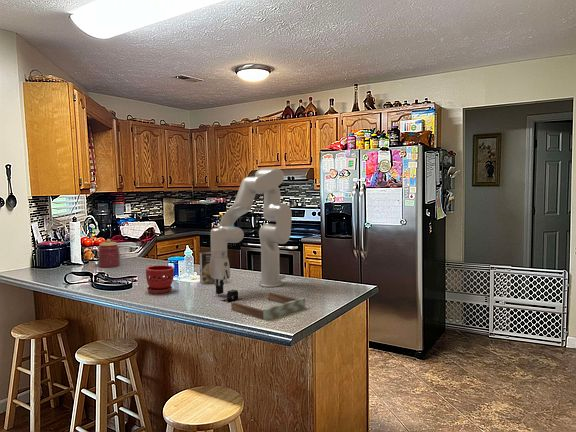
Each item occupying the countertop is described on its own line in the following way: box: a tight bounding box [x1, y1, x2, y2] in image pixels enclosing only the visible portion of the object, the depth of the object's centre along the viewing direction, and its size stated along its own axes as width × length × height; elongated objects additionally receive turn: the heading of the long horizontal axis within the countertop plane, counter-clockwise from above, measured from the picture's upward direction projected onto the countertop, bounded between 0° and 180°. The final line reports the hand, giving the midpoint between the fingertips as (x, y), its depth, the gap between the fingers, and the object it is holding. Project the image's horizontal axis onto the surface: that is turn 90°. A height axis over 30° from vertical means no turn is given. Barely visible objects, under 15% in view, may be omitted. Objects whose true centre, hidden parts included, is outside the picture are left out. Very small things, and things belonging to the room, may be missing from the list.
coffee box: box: [199, 251, 215, 285], centre depth 230 cm, size 9×6×16 cm
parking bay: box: [230, 292, 306, 321], centre depth 180 cm, size 23×20×4 cm
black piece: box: [220, 289, 244, 304], centre depth 195 cm, size 12×7×5 cm, turn 140°
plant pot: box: [145, 264, 175, 294], centre depth 210 cm, size 13×13×12 cm
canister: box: [97, 238, 121, 269], centre depth 278 cm, size 13×13×18 cm
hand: (219, 293), depth 202 cm, fingers closed
